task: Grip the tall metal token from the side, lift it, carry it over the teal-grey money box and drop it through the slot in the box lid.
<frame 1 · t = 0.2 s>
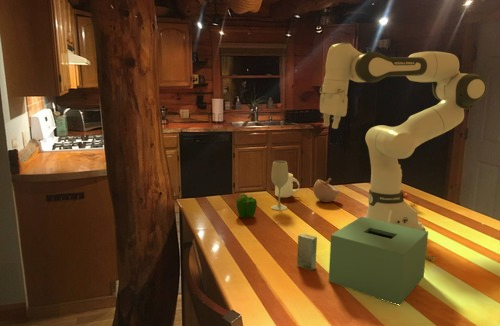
hand: (330, 127, 148), 39 cm above the table, tool pointing down, fingers open, 8 cm apart
token: (306, 267, 123), on the table
coin box: (376, 279, 116), on the table
wineglass: (279, 208, 181), on the table
dice set: (424, 259, 130), on the table
bell pepper: (246, 217, 169), on the table
mug: (286, 196, 200), on the table
mortar and pestle: (325, 202, 191), on the table
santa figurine: (393, 202, 191), on the table
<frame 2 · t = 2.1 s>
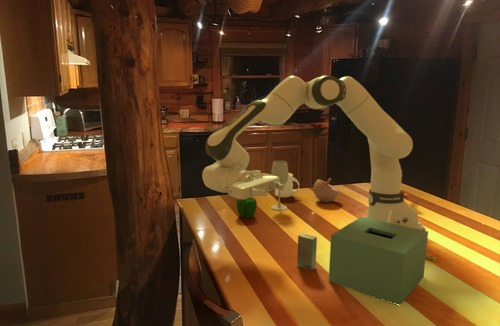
hand: (275, 190, 126), 22 cm above the table, tool horizontal, fingers open, 8 cm apart
nothing on the table moved.
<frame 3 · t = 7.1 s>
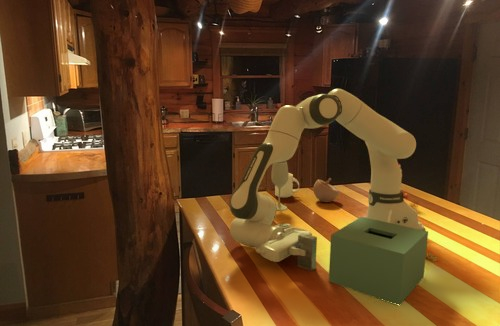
hand: (309, 250, 121), 6 cm above the table, tool horizontal, fingers closed on token, 2 cm apart
token: (306, 267, 123), on the table, touching gripper
everything else where it was.
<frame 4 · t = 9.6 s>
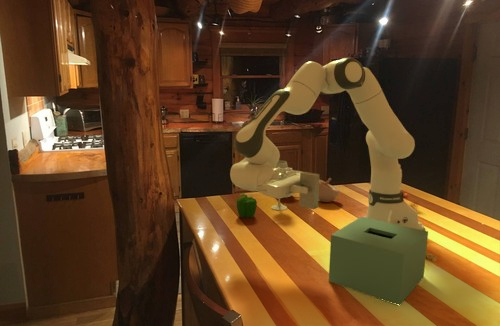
hand: (311, 189, 117), 25 cm above the table, tool horizontal, fingers closed on token, 2 cm apart
token: (308, 206, 119), point 19 cm above the table, touching gripper
everything else where it was.
when the fingers open (19 cm above the table, at t = 12.6 s): token drops 11 cm and tips over, resting on coin box.
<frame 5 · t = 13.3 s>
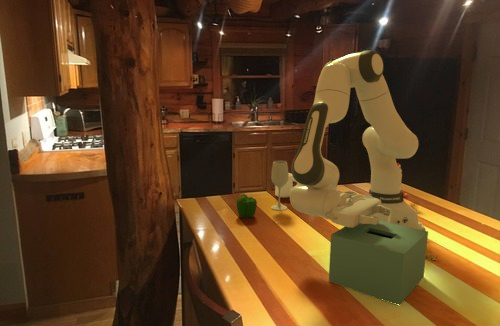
hand: (384, 216, 111), 19 cm above the table, tool horizontal, fingers open, 8 cm apart
token: (379, 271, 115), point 3 cm above the table, tilted 41°, touching coin box
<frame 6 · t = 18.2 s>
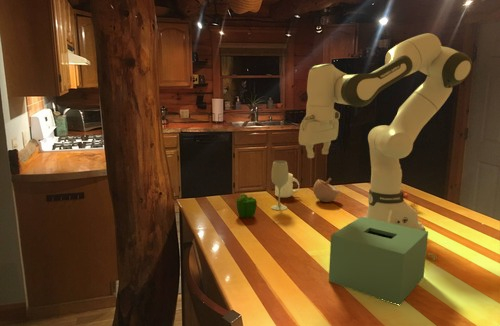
hand: (318, 155, 135), 31 cm above the table, tool pointing down, fingers open, 8 cm apart
at the end: token inside the target area on the coin box (0.6 cm from its centre), point 2.6 cm above the coin box's base; the gripper is holding nothing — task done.
